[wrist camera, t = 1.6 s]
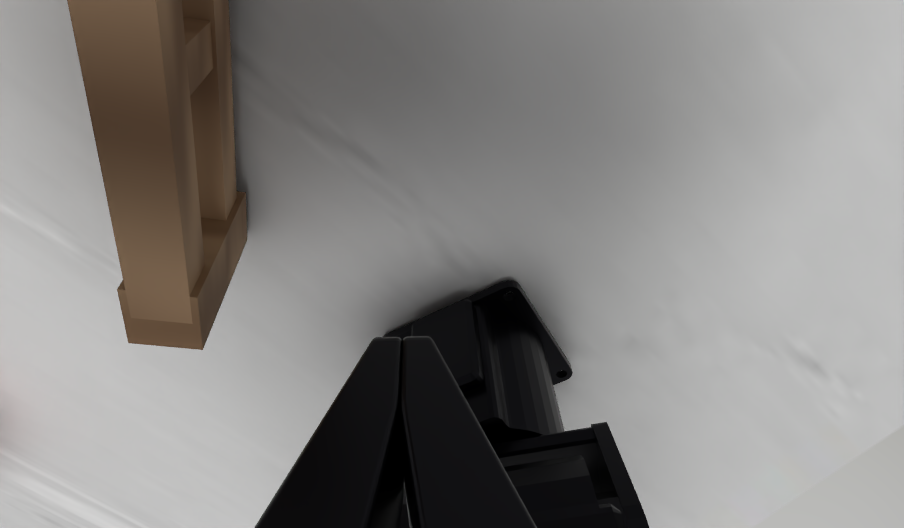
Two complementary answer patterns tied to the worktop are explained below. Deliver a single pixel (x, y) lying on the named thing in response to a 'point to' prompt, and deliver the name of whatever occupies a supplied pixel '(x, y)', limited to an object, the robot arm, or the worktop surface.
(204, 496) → the worktop surface
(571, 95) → the worktop surface
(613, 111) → the worktop surface
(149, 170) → the gate
